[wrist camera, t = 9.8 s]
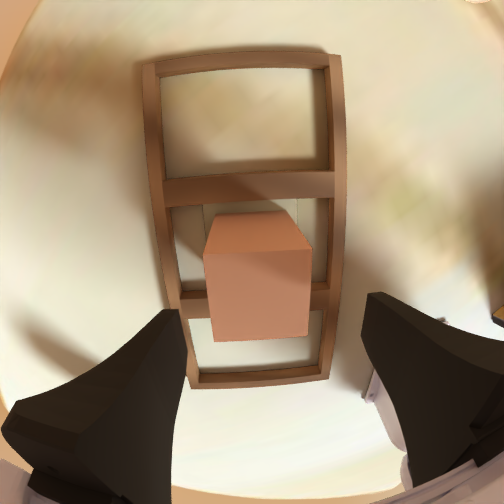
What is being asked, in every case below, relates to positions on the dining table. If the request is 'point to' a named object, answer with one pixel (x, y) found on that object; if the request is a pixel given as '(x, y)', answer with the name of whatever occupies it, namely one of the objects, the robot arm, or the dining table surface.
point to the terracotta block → (257, 276)
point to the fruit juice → (477, 1)
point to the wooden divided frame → (250, 204)
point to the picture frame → (499, 317)
